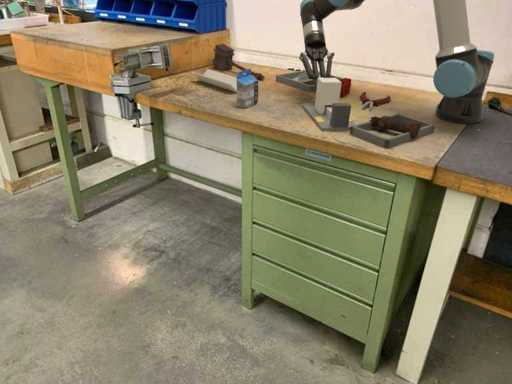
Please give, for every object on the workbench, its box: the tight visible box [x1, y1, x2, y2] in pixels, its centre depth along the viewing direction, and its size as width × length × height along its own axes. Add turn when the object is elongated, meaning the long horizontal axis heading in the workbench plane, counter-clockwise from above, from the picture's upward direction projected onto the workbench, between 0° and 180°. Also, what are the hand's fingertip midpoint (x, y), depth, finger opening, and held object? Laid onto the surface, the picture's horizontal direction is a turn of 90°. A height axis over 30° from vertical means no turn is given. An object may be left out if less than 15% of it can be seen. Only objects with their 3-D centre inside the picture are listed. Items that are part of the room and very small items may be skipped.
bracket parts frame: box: [275, 70, 343, 93], centre depth 183 cm, size 22×22×2 cm
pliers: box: [359, 91, 392, 111], centre depth 158 cm, size 12×20×3 cm, turn 155°
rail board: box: [301, 102, 357, 132], centre depth 141 cm, size 26×12×8 cm, turn 9°
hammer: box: [211, 43, 266, 81], centre depth 193 cm, size 7×33×10 cm, turn 43°
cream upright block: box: [314, 78, 342, 114], centre depth 142 cm, size 6×6×11 cm
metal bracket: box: [293, 71, 320, 83], centre depth 184 cm, size 14×6×15 cm
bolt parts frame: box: [349, 112, 436, 149], centre depth 130 cm, size 14×24×2 cm, turn 128°
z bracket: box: [191, 68, 237, 94], centre depth 174 cm, size 12×25×6 cm
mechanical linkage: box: [339, 77, 352, 98], centre depth 170 cm, size 16×7×5 cm, turn 149°
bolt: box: [369, 115, 420, 141], centre depth 130 cm, size 6×5×15 cm
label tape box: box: [236, 68, 259, 109], centre depth 149 cm, size 9×4×12 cm, turn 148°
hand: (322, 95), depth 146 cm, fingers closed
